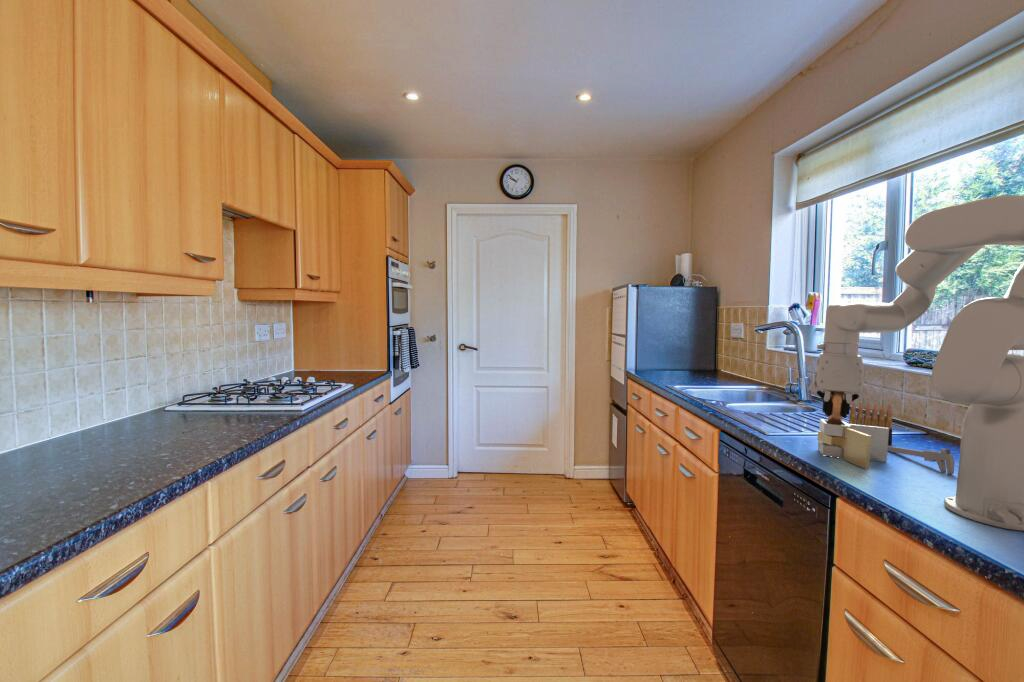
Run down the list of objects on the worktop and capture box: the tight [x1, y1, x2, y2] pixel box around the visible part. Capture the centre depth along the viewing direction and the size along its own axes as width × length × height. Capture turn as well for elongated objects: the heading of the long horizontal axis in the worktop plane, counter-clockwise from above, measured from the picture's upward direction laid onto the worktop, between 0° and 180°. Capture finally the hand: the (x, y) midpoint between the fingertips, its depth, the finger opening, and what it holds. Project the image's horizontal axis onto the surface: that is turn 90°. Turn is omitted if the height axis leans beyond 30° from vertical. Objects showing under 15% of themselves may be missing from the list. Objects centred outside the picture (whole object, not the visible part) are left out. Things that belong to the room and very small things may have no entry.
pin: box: [827, 391, 844, 425], centre depth 118 cm, size 3×3×12 cm
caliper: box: [887, 445, 956, 475], centre depth 115 cm, size 20×1×6 cm, turn 178°
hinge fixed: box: [817, 418, 889, 463], centre depth 116 cm, size 6×14×9 cm, turn 64°
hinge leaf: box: [817, 428, 871, 470], centre depth 114 cm, size 14×5×8 cm, turn 0°
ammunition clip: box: [848, 401, 893, 446], centre depth 131 cm, size 11×2×12 cm, turn 68°
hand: (835, 415), depth 118 cm, fingers closed on pin, 3 cm apart
